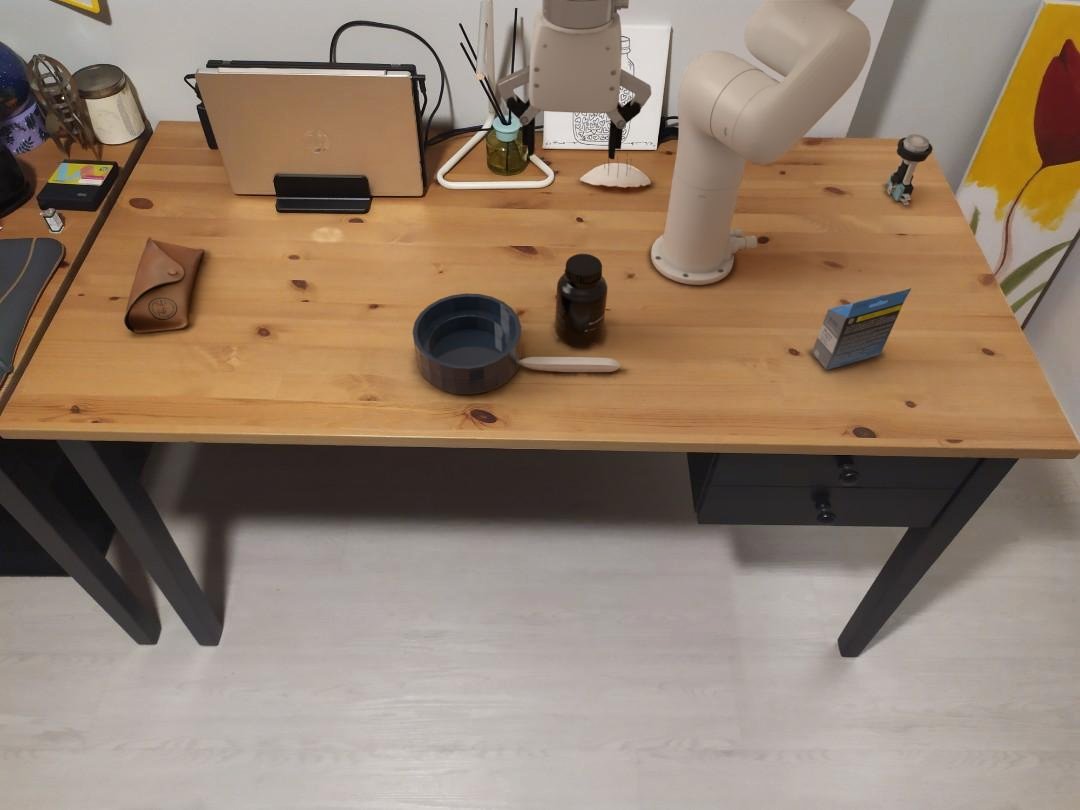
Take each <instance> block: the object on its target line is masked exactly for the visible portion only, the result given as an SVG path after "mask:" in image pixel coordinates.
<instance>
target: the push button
mask: <svg viewBox="0 0 1080 810" xmlns="http://www.w3.org/2000/svg"><path fill="white" fill-rule="evenodd" d="M933 150H934V149H933V145H932V144H931V143H930V140H929V139H928V138H927V137H926V136H923V135H922V134H916V133H913V134H909V135H907V136H906V137H905V136H904V137H902V138H900V139H899V140H898V142H897V149H896V154H897V156H899V157H900V161H899V164H898V166H897V169H896V170H895V171H894V172H891V173H890V176H889V178H888V181H887V183H886V187H887V191H886V192H887V193H888V195H892V197H893V198H894V200H895V201H896V202H902V204H903V205H905V206H907V205H909V204H910V203H909V202H908V201H911V200H912V198H911V197H910V196H911V195H912V194H913V191H914V189H915V188H914V185H913V184H912V181H913V179H914V173H915V170H916V168H917V166H918V164H919V163H922V162H925V161H926V160H927V158H928V157H929V155H931V154H932V152H933Z"/></svg>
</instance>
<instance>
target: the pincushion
mask: <svg viewBox="0 0 1080 810" xmlns="http://www.w3.org/2000/svg"><path fill="white" fill-rule="evenodd" d="M619 150H620V149H617V151H619ZM626 156H628V152H627V153H626ZM616 158H617V159H616V162H610V158H608V159H607V163H604V164H601V165H597V166H595V167H594V168H591V169H590V170H589V171H588V172H586V173H585V174H583V175H581V177H579V181H580V182H583V183H586V184H589V185H592V186H601V185H602V186H606V188H608V187H615V189H618V187H619V188H624V189H626V188H627V187H630V188H634V187H635V188H638V187H641V186H642V187H645V186H647V185H651V180H650V179H649V176H647V174H646V173H644V172H643V171H642V170H640V169H638V168H637V167H635V166H633V165H632V164H629V163H628V160H625V161H626V163H621V162H618V160H619V156H617V157H616ZM632 159H633V158H631V159H630V161H632Z"/></svg>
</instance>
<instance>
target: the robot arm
mask: <svg viewBox="0 0 1080 810" xmlns="http://www.w3.org/2000/svg"><path fill="white" fill-rule="evenodd" d="M629 2H630V0H542V4H541V5H542V6H541V8H540V9H538V10H537V11H536V12H535V16H534V21H533V26H532V34H531V43H530V54H529V56H530V57H529V65H527V66H525V67H523V68H521V69H519V70H516V71H514V72H512V73H510V74H508V75H506V76H504V77H502V78H500V79H499V80H498V82H497V87H496V88H497V91H498V93H499V94H500V96H501V98H502V100H503V101H504V103H505V104H506V105H505V106H506V108H507V109H508V110H509V112H511V113H512V114H513V115H514V116H515V117H516V118H517V119H518V121H519V123H520V125H521V145H522V146H526V147H527V157H533V156H535V146H536V116H537V115H538V114H539V113H540V112H541V111H542V112H552V113H554V112H555V113H576V114H577V113H578V114H606V116H607V117H608V118H609V119H610V121H609V134H608V143H607V144H608V145H607V150H608V151H607V153H608V154H607V155H608V158H609V160H615V159H616V158H615V156H616V150H618V149H619V150H621V149H622V141H623V131H624V129H625V128H626V126H627V124H628V123H629V122H630V121H632V120H633V119H634V118H635V117H636V116H638V115H639V114H640V113H641V110H642V108H643V107H644V106H645V104H646V103H647V102H648V100H649V99H650V98H651V96H652V86H651V84H649V83H647V82H646V81H644V80H641V78H638V77H636V76H635V75H633V74H631V73H630V72H627V71H626V70H624V69H623V68H622V51H623V50H622V49H623V47H622V45H623V43H622V41H623V40H622V25H621V16H620V14H619V13H618V11H621V10H622V9H623V10H624V9H629ZM855 2H856V0H763V2H762V3H761V4H760V5H759V6H758V7H757V8H756V9H755V11H754V12H753V14H752V15H751V16H750V18H749V19H748V22H746V23H747V24H746V26H745V28H744V33H743V40H744V44H745V47H746V49H747V50H748V52H749V53H750V54H751V55H752V56H753V57H754V58H755V59H756V60H757V61H759V62H760V63H762V64H763V65H765V66H766V67H768V68H769V69H771V70H773V71H774V72H776V73H777V74H779V75H781V76H782V77H784V78H783V79H782V80H781V81H779V80H777V79H775V78H774V77H772V76H771V75H769V74H767V73H766V72H765V71H763V70H762V69H760V68H758V67H757V66H755V65H753V64H752V63H750V62H749V61H747V60H745V59H744V58H742V57H740V56H738V55H736V54H734V53H731V52H727V51H723V50H711V51H707V52H704V53H701V54H699V56H697V57H695V58H694V59H693V60H692V61H691V62H690V63H689V65H688V66H687V67H686V69H685V70H684V72H683V74H682V76H681V79H680V82H679V86H678V90H677V91H678V92H677V119H678V120H677V121H678V135H677V136H678V137H677V138H678V139H677V148H676V155H675V163H674V166H673V167H674V168H673V173H672V174H673V175H672V181H671V188H670V194H669V200H668V207H667V213H666V219H665V224H664V225H665V227H664V232H663V234H661V235H660V236H658V237H657V238H656V239H655V240H654V242H653V243H652V247H651V251H650V257H651V259H650V260H651V262H652V264H653V266H654V267H655V269H656V270H657V271H658V272H659V273H660V274H662V275H663V276H664V277H666V278H667V279H670V280H672V281H674V282H678V283H679V284H680V283H681V284H686V285H691V286H692V285H693V286H701V285H702V286H703V285H710V284H713V283H717V282H719V281H721V280H722V279H724V278H726V277H727V276H728V275H729V274H730V272H731V271H732V269H733V266H734V262H735V256H734V254H735V253H738V251H739V250H750V249H751V250H752V249H756V248H757V246H758V239H757V236H756V235H754V234H753V235H745V236H744V232H743V229H742V228H741V227H740V228H733V229H732V224H733V219H734V216H735V210H736V207H737V202H738V198H739V194H740V189H741V184H742V180H743V176H744V173H745V167H746V161H747V162H750V163H752V164H755V165H758V166H759V165H760V166H762V165H769V164H771V163H772V164H773V163H774V162H776V161H778V160H780V159H781V158H783V157H784V156H785V155H786V154H787V153H789V152H790V151H791V150H792V149H793V148H794V147H795V146H796V145H797V144H798V143H799V142H800V141H801V140H802V139H803V138H804V137H805V135H806V134H807V133H808V132H809V131H810V130H811V129H812V128H813V127H814V126H815V125H816V124H817V123H818V122H819V121H820V120H821V119H822V118H823V117H824V116H825V115H826V114H827V113H828V112H829V111H830V110H831V109H832V108H833V107H834V105H835V104H836V103H837V102H838V101H839V100H840V99H841V98H842V97H843V96H844V95H845V94H846V92H847V91H848V90H849V89H850V88H851V87H852V86H853V85H854V83H855V82H856V81H857V80H858V77H859V76H860V74H861V73H862V71H863V70H864V67H865V65H866V63H867V61H868V58H869V54H870V51H871V45H872V43H871V42H872V39H871V33H870V30H869V28H868V27H867V25H866V23H864V21H862V19H860V18H859V17H858V16H857V15H855V14H853V13H851V12H850V11H848V9H849V8H850V7H851V6H852V5H853V4H854V3H855ZM526 84H528V98H527V99H526V100H525V101H523V100H522V99H521V98H520V97H519V95H517V94H516V93H515V89H517V88H520V87H522V86H524V85H526ZM621 87H622V88H623V89H625V90H627V91H629V92H631V93H632V94H634V97H633V98H631V99H630V100H628V101H627V102H626V103H625V104H624V105H622V103H621V102H620V101H619V99H620V90H621Z"/></svg>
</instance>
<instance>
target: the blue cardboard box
mask: <svg viewBox="0 0 1080 810" xmlns="http://www.w3.org/2000/svg"><path fill="white" fill-rule="evenodd" d="M911 291H912V287H910V288H906V289H903V290H899V291H895V292H891V293H888V294H880V295H876V296H872V297H869V298H865V299H861V300H858V301H854V302H850V303H847V304H843V305H839V306H836V307H832V308H828V309H827V310H826V314H825V316H824V318H823V322H822V324H821V326H820V330H819V332H818V335H817V338H816V340H815V343H814V345H813V347H812V351H811V354H812V356H813V357H814V358H815V360H817V361H818V362H819V364H820V365H821V366H822V367H823V369H825V371H828V370H829V371H830V370H832V369H836V368H840V367H843V366H846V365H851V364H855V363H858V362H862V361H864V360H868V359H871V358H875V357H879V356H881V355H882V353H883V350H884V348H885V346H886V343H887V341H888V339H889V336H890V334H891V332H892V330H893V327H894V325H895V323H896V321H897V318H898V317H899V314H900V312H901V310H902V308H903V305H904V303H905V301H906V300H907V297H908V296H909V294H910V292H911Z"/></svg>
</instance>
